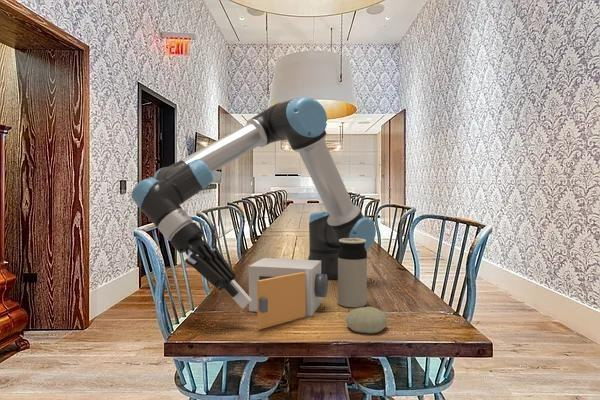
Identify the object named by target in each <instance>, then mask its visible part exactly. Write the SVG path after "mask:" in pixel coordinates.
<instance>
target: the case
mask: <svg viewBox="0 0 600 400" xmlns="http://www.w3.org/2000/svg"><path fill="white" fill-rule="evenodd" d="M300 272H305V273H306V316H305V318H309V317H313V315H314V314H315V312H317V310H318V309H319V307H320V305H321V304H322V298H326V297H327V294H328V284H329V281H328V278H327V274H321V261H320V260H308V259H297V258H296V259H295V258H272V257H263V258H261V259H259V260H257V261H256V262H255V261H254V262H253V263H251V264H250V265H248V296H249V297H250V298H251V299H252V301H250V302H249V303H248V311H249V312H255V313H257V281H258V280H263V279H268V278H274V277H279V276H284V275H289V274H295V273H300Z"/></svg>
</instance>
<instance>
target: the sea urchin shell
mask: <svg viewBox="0 0 600 400" xmlns="http://www.w3.org/2000/svg"><path fill="white" fill-rule="evenodd" d="M345 321H346V325H347V326H348V327H349V329H351V330H352V331H353V332H356V333H360V334H377V333H379V332H381V331H382V330H384V329H385V328H386V327H387V324H388V318H387V316H386V314H385V312H383V311H382V310H380V309H378V308H376V307H373V306H362V307H358V308H353V309H352V310H350V311H349V313H348V314H347V316H346V319H345Z"/></svg>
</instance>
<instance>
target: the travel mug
mask: <svg viewBox="0 0 600 400" xmlns="http://www.w3.org/2000/svg"><path fill="white" fill-rule="evenodd" d="M339 242H340V246H341V247H340V248H339V250H338V279H337V304H338V305H340V306H341V307H345V308H350V309H351V308H352V309H356V308H362V307H365V306H367V304H368V303H367V299H368V298H367V296H368V293H367V292H368V288H367V287H368V282H367V281H368V280H367V279H368V272H367V270H368V250H367V251H366V249H365V242H366V240H365V239H360V238H343V239H339Z"/></svg>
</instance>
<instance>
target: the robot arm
mask: <svg viewBox="0 0 600 400" xmlns="http://www.w3.org/2000/svg"><path fill="white" fill-rule="evenodd" d="M327 121H328V115H327V112H326V110H325V108H324V106H323V105H322V104H321V103H320V102H319V101H318V100H316V99H315V98H312V97H309V96H308V97H306V96H304V97H296V98H293V99H289V100H286V101H283V102H277V103H276V104H275V103H274V104H273V105H271V106H269V107H267V108H266V109H264V110H263V111H261V112H260V113H258V114H256V115H255V116H253V117H251V118H249V119H248V120H247V121H246V124H245V125H243V126H241V127H240V128H238V129H236V130H234V131H232V132H230V133H228V134H227V135H225V136H223V137H222V138H220V139H217V140H215V141H214V142H212V143H209V144H208V145H206V146H204V147H203V148H201V149H199V150H197V151H195V152H193V153H192V154H189V155H188V156H185V157H184V158H182V159H180V160H178V161H177V162H174V163H173V164H171V165H169V166H164V167H162V168H159V169H158V170H157V171H155V173H154V174H153V177H147V178H144V179H142V180H140V181H139V182H138V183H137V184H136V185H135V186H134V188H133V189H132V190H131V199H132V200H133V201H134V203H135V204H136V205H137V207H138V208H139V210H140V211H141V212H142V213H143V214H144V215H145V216H146V217H147V218H148V220H150V222H152V224H153V225H154V226H155V227H156V228H157V229H158V230H159V232H160V233H161V234H162V235H163V237H165V238H166V240H167V241H170V244H171V246H173V248H174V249H175V250H176V251H177V252H178V253H179V254H183V253H185V255H186V256H187V258H186V259H185V260H184V261H185V263H186V264H187V265H189V266H191V267H192V268H194V269H195V271H197V273H199V274H200V275H201V276H202V277H203V278H204V279H205V280H207V281H208V282H209V283H210V284H212V286H213V287H215V288H216V289H218V291H222V290H223V289H224V290H225V292H226V293H228V295H229V296H230V298H232V299H233V300H234V301H235V303H236V304H237V305H238V306H239V308H241V310H243V309H245V308H246V306H247V305H249V302H250V301H252V299H251V298H250V297H249V294H248V293H246V291H245V290H244V289H243V288H242V287H241V286H240V285H239V283H237V281H236V280H235V279H236V278H237V275H236V273H235V272H234V271H233V269H232V268H231V266H230V265H229V264H228V262H227V261H226V259H225V258H224V257H223V255H222V254H221V252H220V251H219V248H218V246H216V245H213V246H210V244H208V242H206V241H205V240H203V236H204V234H205V233H204V231H203V229H202V228H201V227H200V226H199V225H198V224H197V223H196V222H193V219H192V218H191V216H190V215H189V214H188V213H187V210H185V209H184V208H182V206H181V205H183V203H185V202H186V201H188V200H189V199H191V198H192V197H194V196H195V195H196V194H198V193H200V192H201V191H203V190H205V189H206V188H207V187H208V186H209V185H210V184H212V182H213V181H214V175H213V173H214V172H216V171H218V170H219V169H221V168H223V167H225V166H226V165H229V164H230V163H232V162H233V161H235V160H237V159H238V158H240V157H242V156H244V155H245V154H247V153H249V152H251V151H252V150H254V149H256V148H257V147H260V148H264V147H266V146H267V145H270V144H272V143H275V142H280V141H287V142H288V144H289V146H290V147H291V150H292V151H294V152H297V153H298V154H299V155H300V157H301V160H302V161H303V164H304V165H305V168H306V170H307V172H308V174H309V176H310V179H311V180H312V183H313V184H314V186H315V189H316V191H317V192H318V196H319V198H320V200H321V201H322V204H323V206H324V207H325V210H326V211H317V212H313V213H311V214H310V215H309V220H308V221H309V222H308V231H309V233H308V234H309V235H308V239H309V240H308V243H309V247H308V249H309V254H308V257H307V260H320V261H321V274H327V278H328V280H338V250H339V248H340V247H341V246H340V242H339V239H343V238H360V239H365V240H366V242H365V249H366V251H367V252H368V251H369V249H370V248H371V247H372V246H373V244H374V242H375V238H376V235H377V234H376V233H377V229H376V225H375V222H374V221H373V220H372V219H371V218H369V217H367V216H366V217H365V216H364V215H363V212H362V209H361V208H360V206H359V205H355V204H354V203H353V201H352V199H351V197H350V195H349V192H348V190H347V188H346V186H345V183H344V182H343V179H342V177H341V175H340V172H339V170H338V168H337V165H336V164H335V161H334V160H333V157H332V155H331V152H330V150H329V148H328V146H327V144H326V141H325V140H326V137H327V132H326V128H327V125H328V124H327Z"/></svg>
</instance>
